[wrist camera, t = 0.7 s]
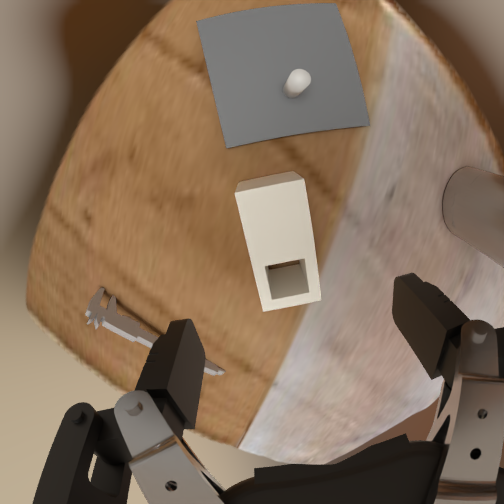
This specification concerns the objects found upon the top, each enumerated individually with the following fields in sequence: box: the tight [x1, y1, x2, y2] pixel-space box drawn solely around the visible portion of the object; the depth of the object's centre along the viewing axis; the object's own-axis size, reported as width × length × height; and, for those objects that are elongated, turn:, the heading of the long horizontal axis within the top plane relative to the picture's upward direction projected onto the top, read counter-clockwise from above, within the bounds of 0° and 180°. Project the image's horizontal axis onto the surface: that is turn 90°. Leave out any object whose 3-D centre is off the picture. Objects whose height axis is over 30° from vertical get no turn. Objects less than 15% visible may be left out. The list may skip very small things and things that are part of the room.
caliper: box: [85, 288, 226, 375], centre depth 31 cm, size 20×1×6 cm, turn 49°
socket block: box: [235, 171, 321, 312], centre depth 25 cm, size 5×11×6 cm, turn 12°
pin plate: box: [196, 3, 370, 148], centre depth 19 cm, size 14×14×6 cm
